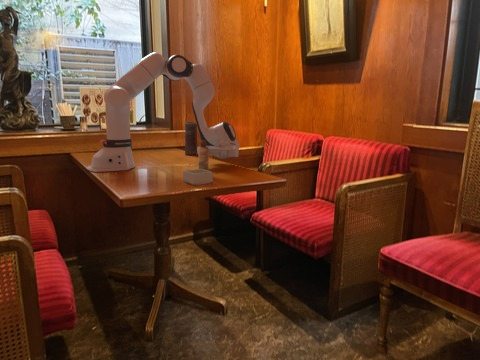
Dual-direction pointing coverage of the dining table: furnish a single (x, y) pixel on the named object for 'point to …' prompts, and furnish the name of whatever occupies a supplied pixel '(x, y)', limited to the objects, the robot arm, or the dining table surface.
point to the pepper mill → (203, 155)
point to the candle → (190, 138)
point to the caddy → (197, 176)
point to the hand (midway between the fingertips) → (211, 153)
